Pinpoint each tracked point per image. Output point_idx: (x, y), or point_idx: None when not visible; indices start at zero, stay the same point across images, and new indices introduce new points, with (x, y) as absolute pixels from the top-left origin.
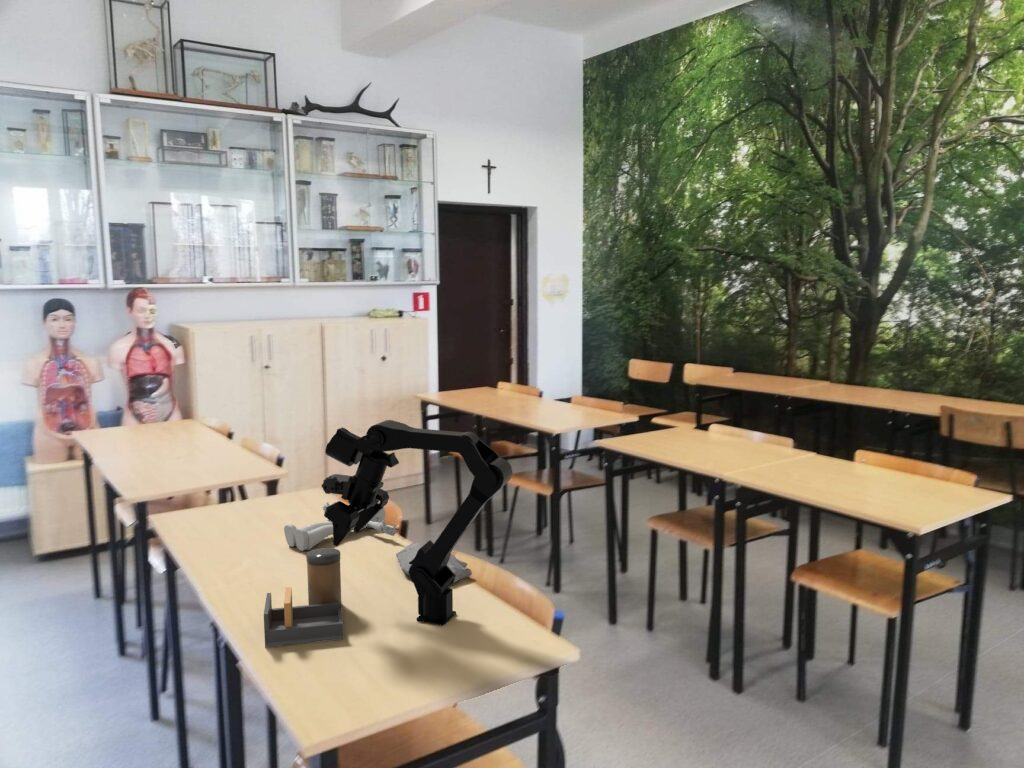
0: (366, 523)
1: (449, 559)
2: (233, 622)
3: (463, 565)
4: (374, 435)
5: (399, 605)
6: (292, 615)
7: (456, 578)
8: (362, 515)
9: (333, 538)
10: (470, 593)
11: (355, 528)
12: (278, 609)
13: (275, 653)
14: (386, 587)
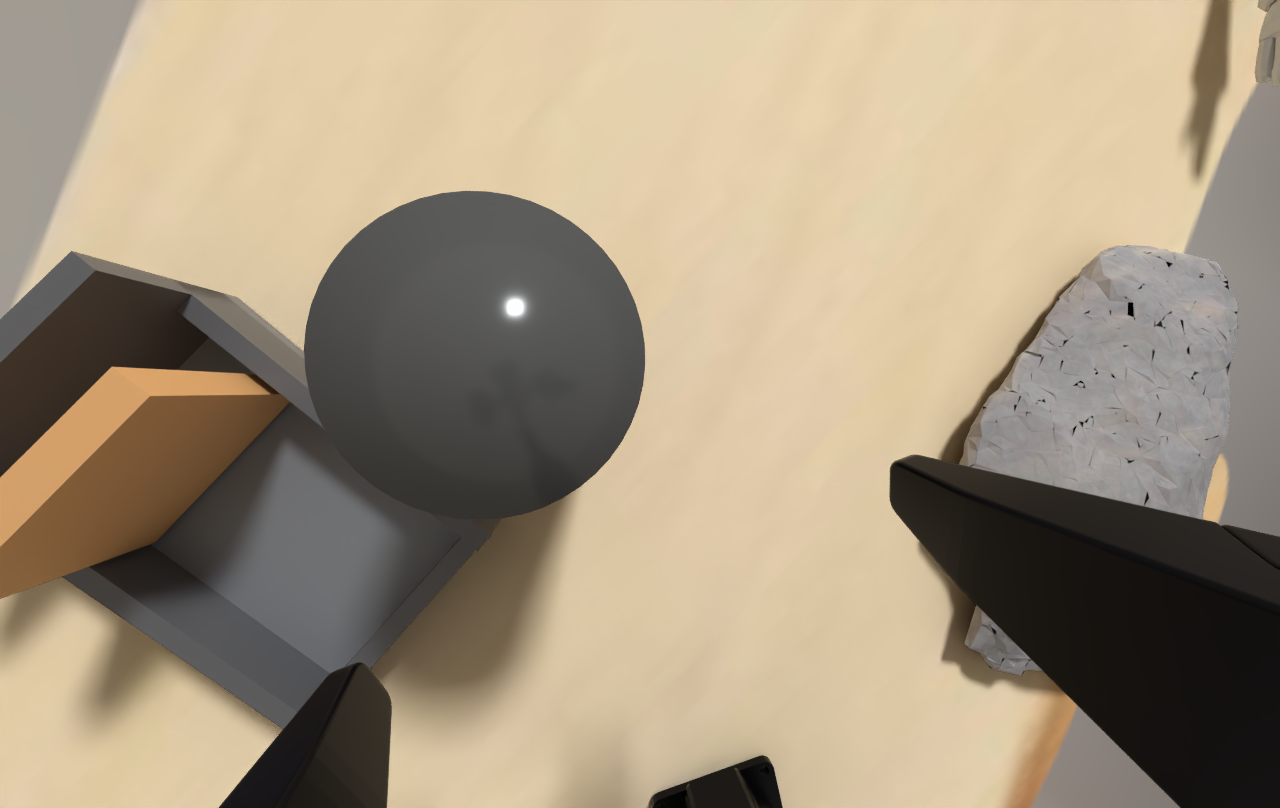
0: (1066, 694)
1: None
2: (139, 134)
3: None
4: None
5: (728, 623)
6: (257, 416)
7: (1029, 669)
8: (1239, 705)
9: (233, 802)
10: (966, 760)
11: (925, 494)
12: (209, 334)
13: None
14: (833, 442)
